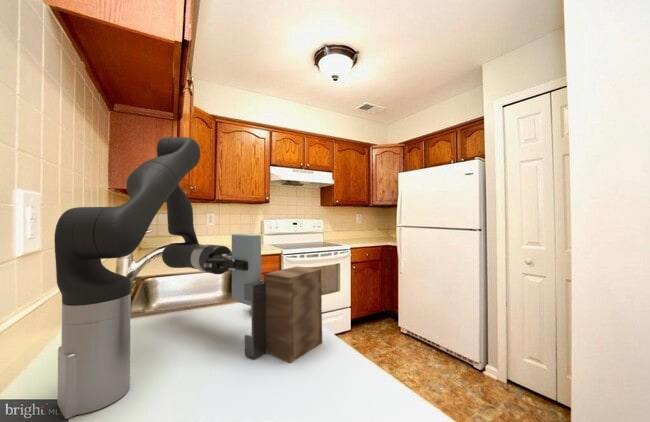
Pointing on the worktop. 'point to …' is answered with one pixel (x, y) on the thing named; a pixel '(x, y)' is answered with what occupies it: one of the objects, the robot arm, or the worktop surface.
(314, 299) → the cabinet
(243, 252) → the door
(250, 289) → the hinge clips
